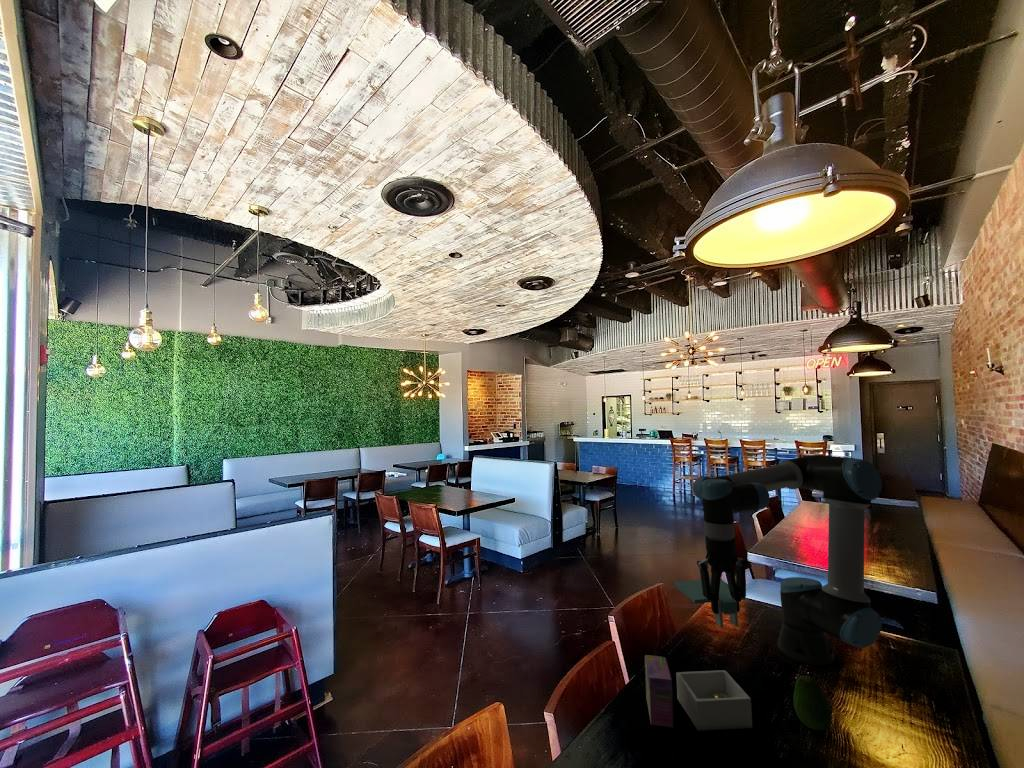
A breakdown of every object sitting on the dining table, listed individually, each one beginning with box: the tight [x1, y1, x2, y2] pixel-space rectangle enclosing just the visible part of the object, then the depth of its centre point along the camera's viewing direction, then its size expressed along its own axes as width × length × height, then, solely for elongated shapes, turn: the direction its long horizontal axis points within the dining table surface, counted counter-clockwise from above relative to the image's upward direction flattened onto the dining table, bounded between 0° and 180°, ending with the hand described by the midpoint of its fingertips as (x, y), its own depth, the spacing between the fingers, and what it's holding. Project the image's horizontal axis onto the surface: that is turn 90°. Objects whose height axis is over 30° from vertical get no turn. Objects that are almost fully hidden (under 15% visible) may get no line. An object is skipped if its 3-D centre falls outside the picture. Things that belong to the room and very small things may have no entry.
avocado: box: [792, 675, 832, 731], centre depth 106 cm, size 8×8×12 cm
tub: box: [675, 669, 753, 732], centre depth 112 cm, size 14×12×7 cm
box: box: [644, 654, 674, 728], centre depth 112 cm, size 10×6×12 cm, turn 168°
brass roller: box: [711, 693, 730, 698], centre depth 113 cm, size 4×3×3 cm
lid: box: [673, 578, 746, 615], centre depth 121 cm, size 15×18×3 cm
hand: (726, 624), depth 115 cm, fingers closed on lid, 3 cm apart
